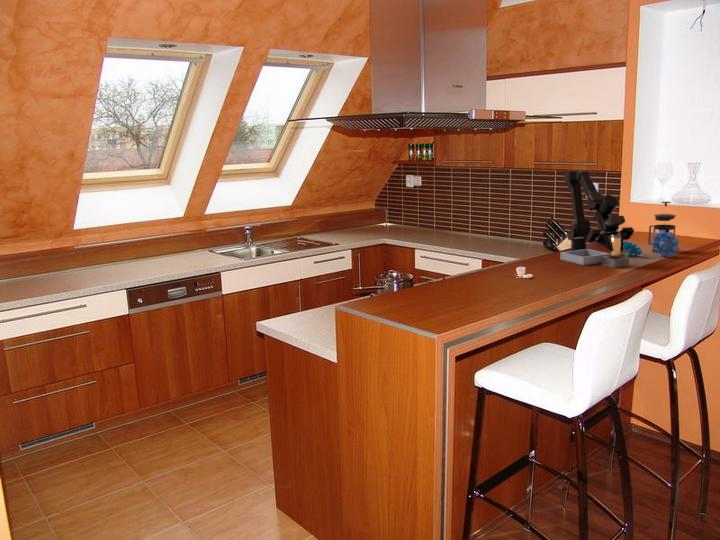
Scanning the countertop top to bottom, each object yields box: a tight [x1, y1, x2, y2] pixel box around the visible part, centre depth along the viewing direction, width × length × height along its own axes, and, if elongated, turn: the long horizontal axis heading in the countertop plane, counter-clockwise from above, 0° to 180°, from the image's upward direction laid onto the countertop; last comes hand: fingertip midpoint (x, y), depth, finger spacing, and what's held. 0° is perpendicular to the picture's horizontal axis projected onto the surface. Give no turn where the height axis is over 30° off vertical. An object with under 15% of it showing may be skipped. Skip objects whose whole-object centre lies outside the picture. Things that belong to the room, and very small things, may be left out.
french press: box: [648, 201, 677, 254], centre depth 279 cm, size 12×9×23 cm
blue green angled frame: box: [620, 240, 643, 258], centre depth 272 cm, size 11×6×10 cm
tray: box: [559, 248, 610, 266], centre depth 268 cm, size 15×15×4 cm
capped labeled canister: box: [609, 234, 622, 259], centre depth 255 cm, size 4×4×13 cm
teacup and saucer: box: [516, 266, 533, 279], centre depth 242 cm, size 9×8×4 cm
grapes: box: [650, 230, 680, 258], centre depth 267 cm, size 12×7×12 cm, turn 47°
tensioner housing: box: [600, 255, 630, 269], centre depth 255 cm, size 8×8×4 cm
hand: (617, 250), depth 253 cm, fingers open, 4 cm apart
